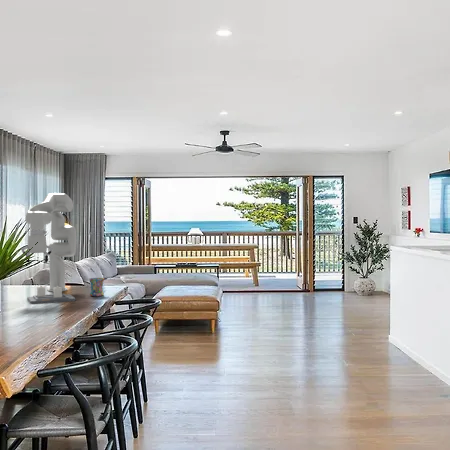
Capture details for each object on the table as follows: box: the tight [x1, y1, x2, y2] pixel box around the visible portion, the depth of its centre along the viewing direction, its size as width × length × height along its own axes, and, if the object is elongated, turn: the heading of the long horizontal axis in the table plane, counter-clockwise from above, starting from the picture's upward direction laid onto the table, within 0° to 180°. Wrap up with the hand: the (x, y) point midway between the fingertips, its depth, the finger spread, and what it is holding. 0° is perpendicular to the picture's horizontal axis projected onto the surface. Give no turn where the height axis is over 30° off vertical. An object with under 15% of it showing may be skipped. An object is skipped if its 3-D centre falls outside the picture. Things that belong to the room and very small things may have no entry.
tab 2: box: [52, 286, 63, 298], centre depth 297 cm, size 4×4×7 cm
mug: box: [88, 277, 105, 297], centre depth 315 cm, size 12×9×11 cm
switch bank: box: [26, 293, 76, 305], centre depth 299 cm, size 18×24×2 cm
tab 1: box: [36, 284, 46, 297], centre depth 301 cm, size 4×4×7 cm
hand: (37, 263), depth 298 cm, fingers open, 9 cm apart
